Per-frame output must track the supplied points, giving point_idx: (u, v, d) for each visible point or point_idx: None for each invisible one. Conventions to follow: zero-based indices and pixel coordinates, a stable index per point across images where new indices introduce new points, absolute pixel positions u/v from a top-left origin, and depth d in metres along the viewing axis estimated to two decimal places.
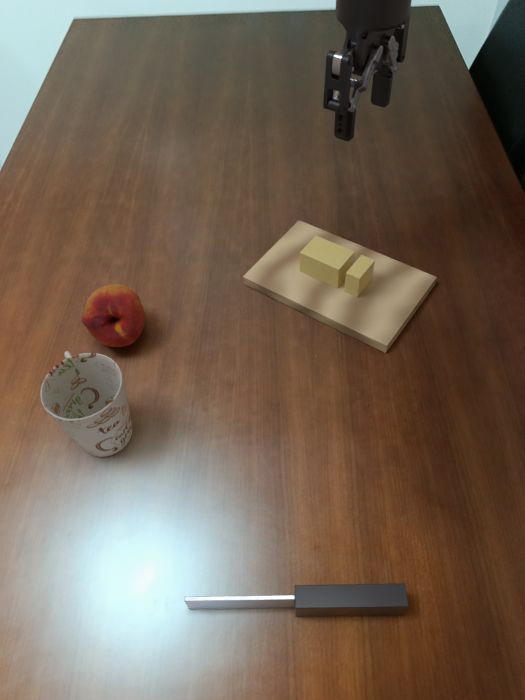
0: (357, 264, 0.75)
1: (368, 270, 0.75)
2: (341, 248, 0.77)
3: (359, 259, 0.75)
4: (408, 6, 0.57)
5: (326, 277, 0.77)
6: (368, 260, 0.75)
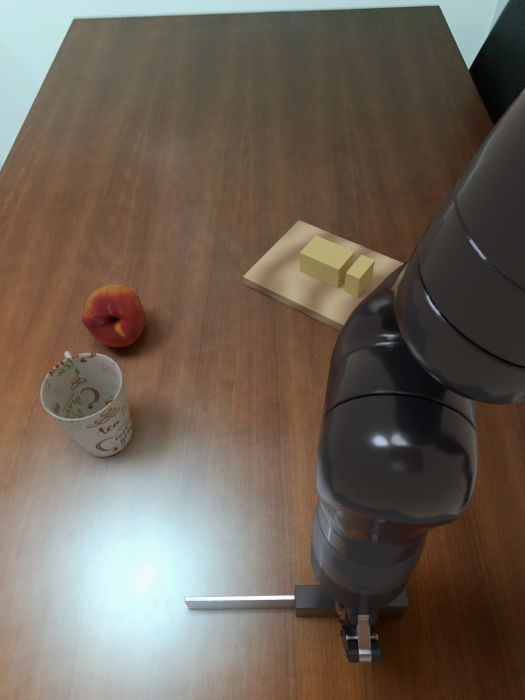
0: (357, 264, 0.75)
1: (368, 270, 0.75)
2: (341, 248, 0.77)
3: (359, 259, 0.75)
4: None
5: (326, 277, 0.77)
6: (368, 260, 0.75)
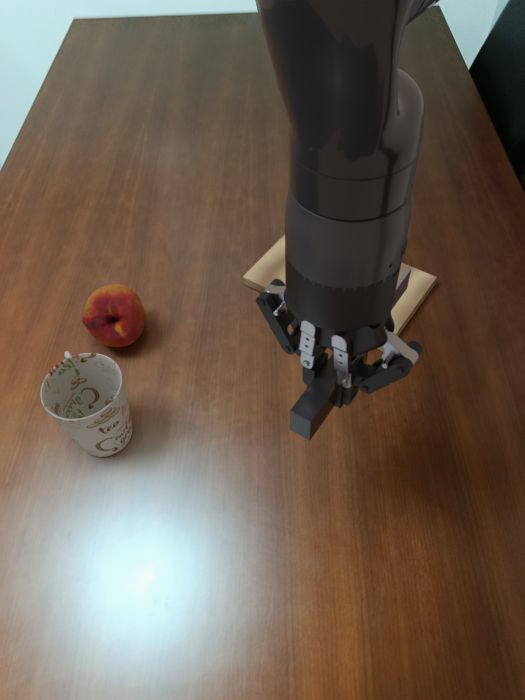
0: None
1: None
2: None
3: None
4: (316, 313, 0.37)
5: None
6: None
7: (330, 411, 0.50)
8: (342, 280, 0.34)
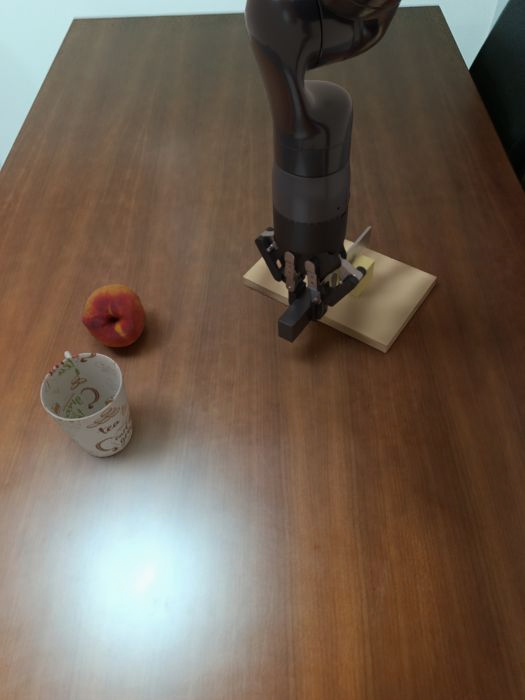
0: (357, 264, 0.75)
1: (368, 270, 0.75)
2: None
3: (359, 259, 0.75)
4: (292, 241, 0.57)
5: None
6: (368, 260, 0.75)
7: (307, 324, 0.70)
8: (307, 217, 0.54)
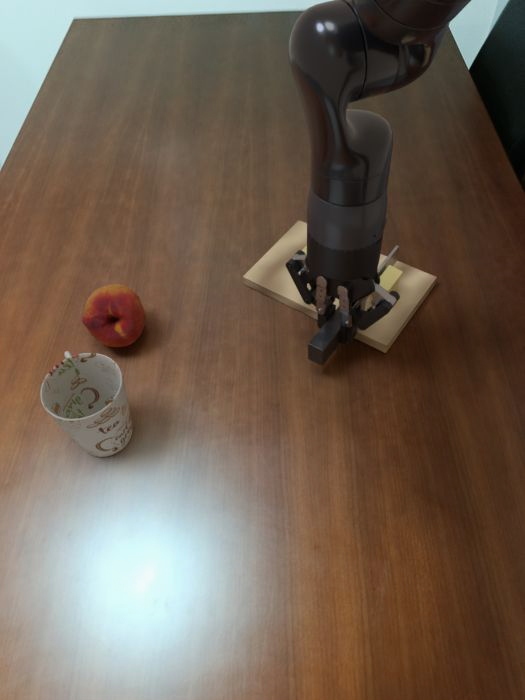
0: (386, 274, 0.73)
1: (396, 282, 0.73)
2: None
3: (387, 269, 0.74)
4: (326, 268, 0.57)
5: None
6: (396, 271, 0.74)
7: None
8: (343, 244, 0.54)
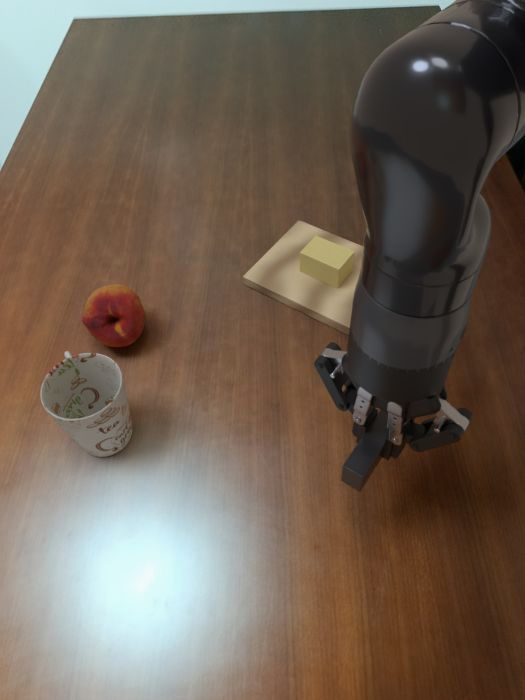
0: None
1: None
2: (341, 248, 0.77)
3: None
4: (378, 387, 0.41)
5: (326, 277, 0.77)
6: None
7: None
8: (406, 363, 0.38)
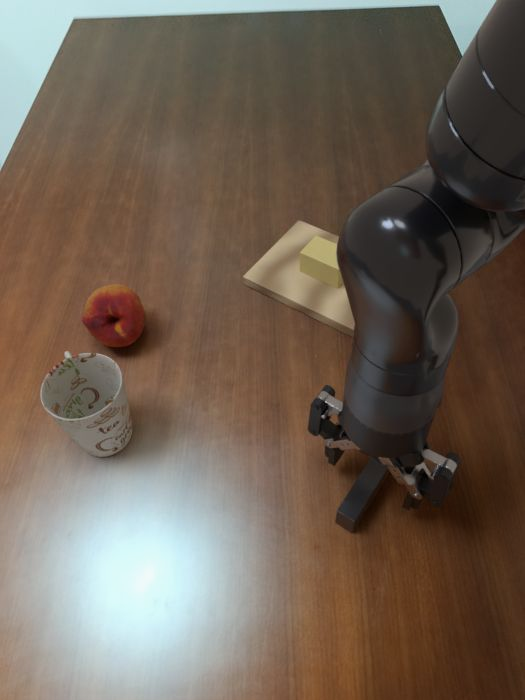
0: None
1: None
2: None
3: None
4: (368, 445, 0.47)
5: (326, 277, 0.77)
6: None
7: (368, 506, 0.60)
8: (391, 429, 0.44)
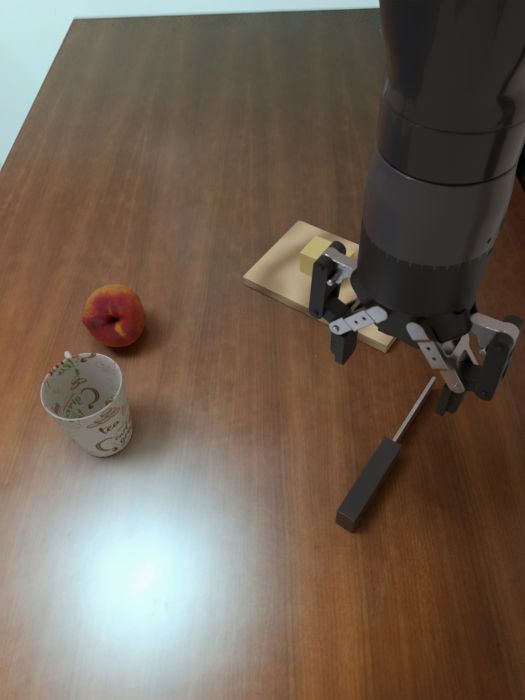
0: None
1: None
2: None
3: None
4: (396, 295, 0.33)
5: None
6: None
7: (368, 506, 0.60)
8: (434, 256, 0.30)
